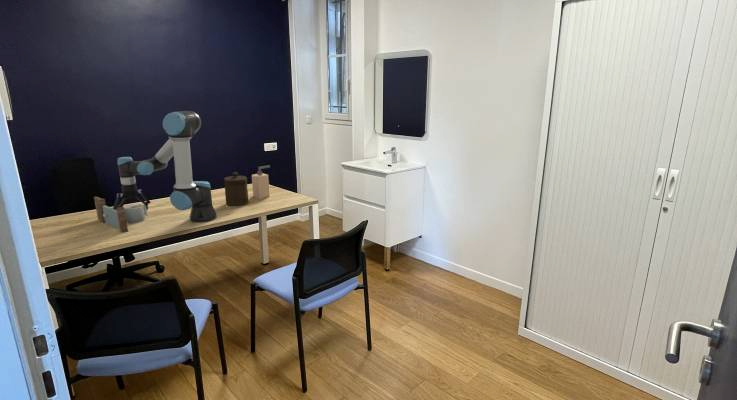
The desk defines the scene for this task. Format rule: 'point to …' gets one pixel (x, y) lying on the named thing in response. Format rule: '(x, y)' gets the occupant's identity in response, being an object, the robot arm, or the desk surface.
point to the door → (111, 216)
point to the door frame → (120, 212)
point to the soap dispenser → (260, 183)
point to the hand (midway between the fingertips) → (134, 218)
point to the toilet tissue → (134, 213)
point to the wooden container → (236, 190)
